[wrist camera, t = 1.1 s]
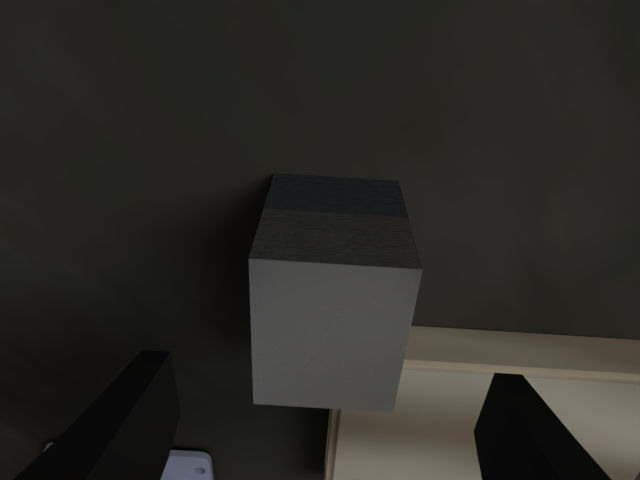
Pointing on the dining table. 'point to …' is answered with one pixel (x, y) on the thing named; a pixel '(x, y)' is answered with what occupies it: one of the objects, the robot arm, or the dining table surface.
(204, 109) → the dining table surface
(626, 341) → the cream flat block
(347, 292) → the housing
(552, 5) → the dining table surface
